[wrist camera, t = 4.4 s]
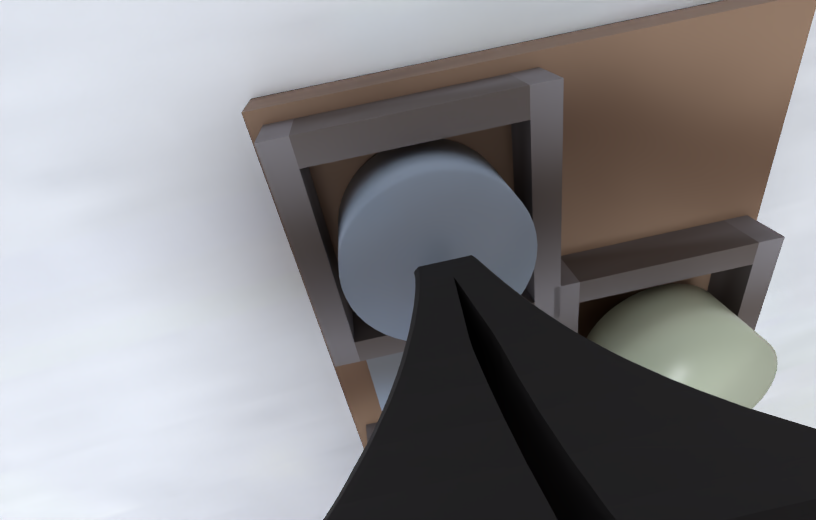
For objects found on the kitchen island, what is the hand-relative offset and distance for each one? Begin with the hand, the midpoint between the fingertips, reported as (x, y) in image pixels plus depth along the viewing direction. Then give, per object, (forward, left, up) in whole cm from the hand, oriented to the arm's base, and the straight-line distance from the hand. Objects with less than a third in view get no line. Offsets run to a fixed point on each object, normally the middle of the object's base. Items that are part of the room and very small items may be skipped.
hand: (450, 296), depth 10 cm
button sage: (-6, -7, -3) cm, 10 cm away
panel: (-6, -4, -5) cm, 9 cm away
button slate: (0, 0, -4) cm, 4 cm away
